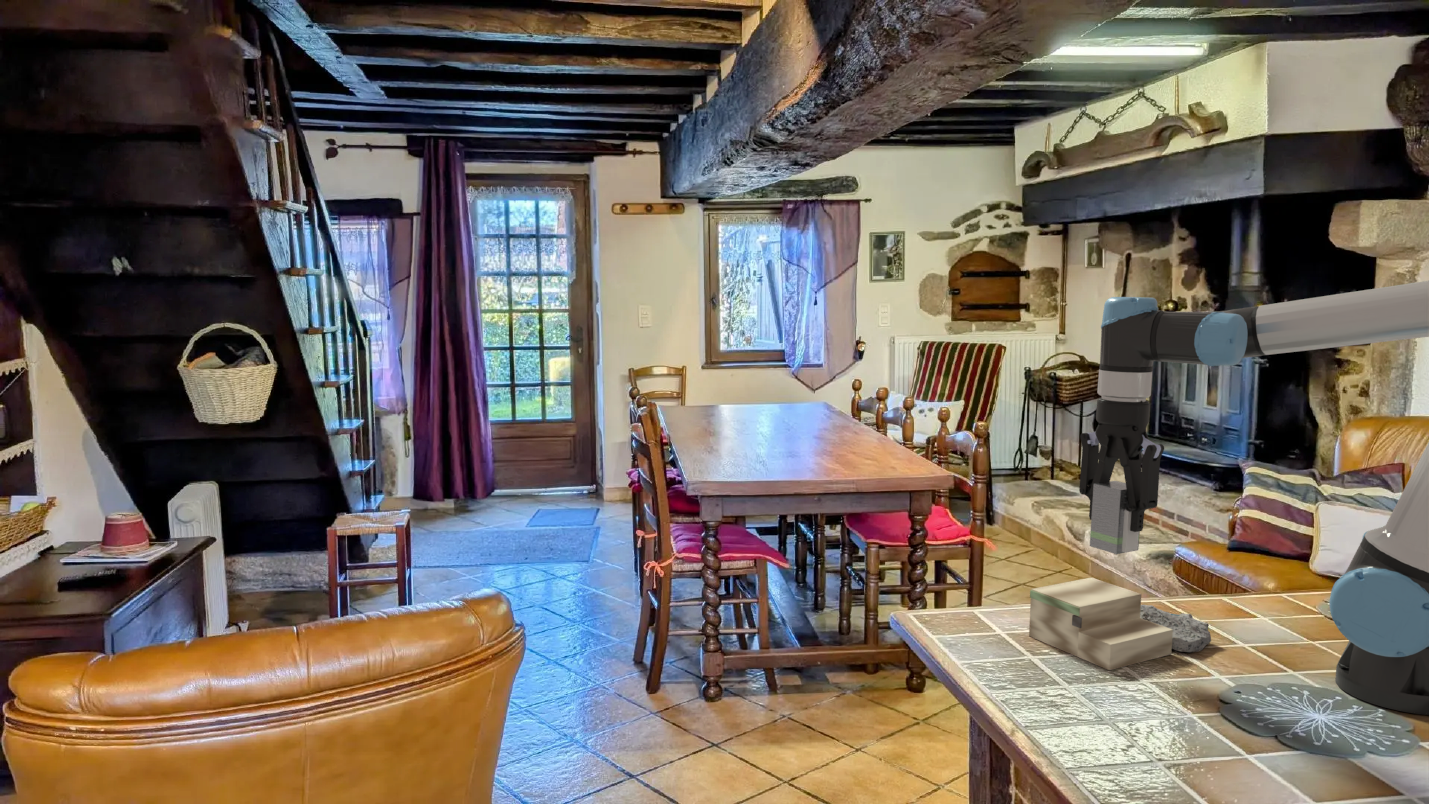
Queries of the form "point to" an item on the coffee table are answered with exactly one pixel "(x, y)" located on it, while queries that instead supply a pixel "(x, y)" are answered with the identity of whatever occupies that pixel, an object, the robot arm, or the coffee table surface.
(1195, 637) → the rock
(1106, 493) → the column
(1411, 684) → the robot arm
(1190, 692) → the coffee table surface
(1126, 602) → the stand
